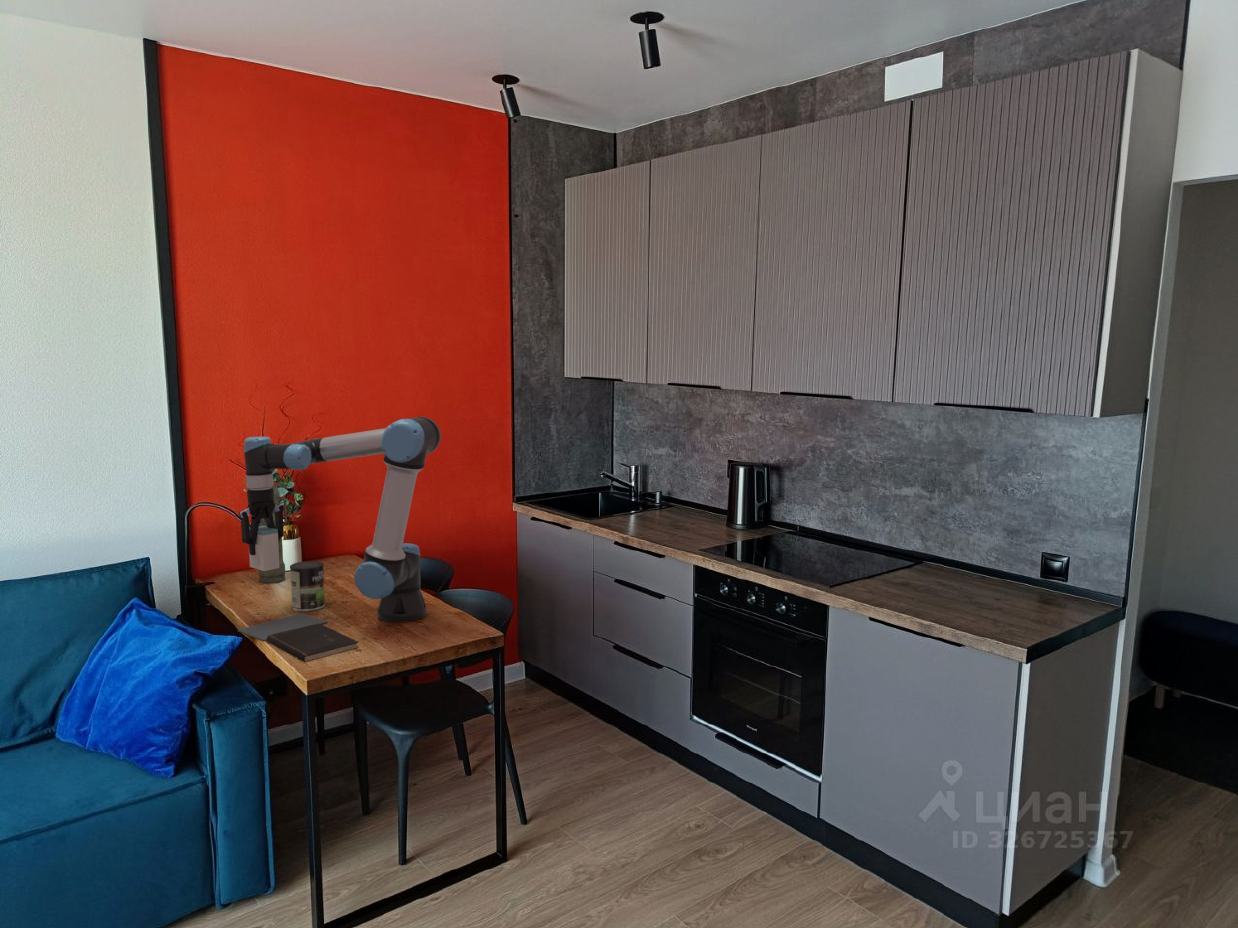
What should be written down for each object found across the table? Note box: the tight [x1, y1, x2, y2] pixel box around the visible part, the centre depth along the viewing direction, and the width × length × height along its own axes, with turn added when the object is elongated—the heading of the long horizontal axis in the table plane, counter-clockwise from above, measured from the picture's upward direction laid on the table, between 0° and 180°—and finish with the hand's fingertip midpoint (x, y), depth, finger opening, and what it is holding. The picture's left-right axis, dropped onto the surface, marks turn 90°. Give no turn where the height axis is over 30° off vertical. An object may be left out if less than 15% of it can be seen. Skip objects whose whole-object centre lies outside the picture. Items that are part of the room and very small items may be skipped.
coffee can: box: [289, 560, 326, 612], centre depth 276 cm, size 10×10×14 cm
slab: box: [248, 526, 279, 571], centre depth 259 cm, size 8×5×12 cm, turn 53°
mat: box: [237, 612, 328, 642], centre depth 257 cm, size 14×21×1 cm, turn 143°
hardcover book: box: [267, 623, 359, 663], centre depth 242 cm, size 16×23×2 cm
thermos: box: [250, 483, 288, 585], centre depth 305 cm, size 9×12×35 cm
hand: (264, 562), depth 260 cm, fingers closed on slab, 5 cm apart
